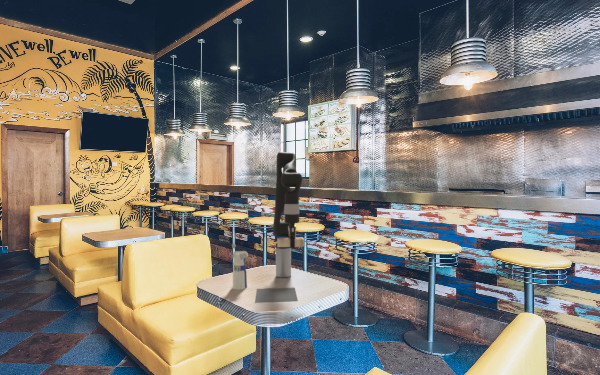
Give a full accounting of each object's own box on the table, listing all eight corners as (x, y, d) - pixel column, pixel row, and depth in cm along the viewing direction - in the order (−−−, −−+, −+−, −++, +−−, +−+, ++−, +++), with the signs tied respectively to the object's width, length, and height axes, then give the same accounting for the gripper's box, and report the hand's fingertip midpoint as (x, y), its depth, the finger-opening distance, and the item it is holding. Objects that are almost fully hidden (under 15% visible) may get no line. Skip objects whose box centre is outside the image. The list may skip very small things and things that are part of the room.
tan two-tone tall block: (277, 237, 167) (302, 237, 168) (277, 245, 167) (302, 244, 168) (277, 239, 161) (304, 239, 162) (277, 247, 161) (304, 246, 162)
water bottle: (244, 291, 172) (244, 243, 172) (229, 290, 174) (229, 242, 174) (250, 286, 180) (250, 240, 180) (235, 285, 182) (235, 240, 182)
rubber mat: (256, 289, 174) (256, 288, 174) (294, 288, 176) (294, 287, 176) (254, 303, 153) (254, 302, 153) (297, 302, 155) (297, 301, 155)
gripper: (300, 214, 157) (300, 249, 158) (298, 211, 172) (298, 244, 172) (284, 214, 157) (285, 249, 157) (283, 212, 171) (283, 244, 171)
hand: (292, 246), depth 164 cm, fingers closed on tan two-tone tall block, 6 cm apart
